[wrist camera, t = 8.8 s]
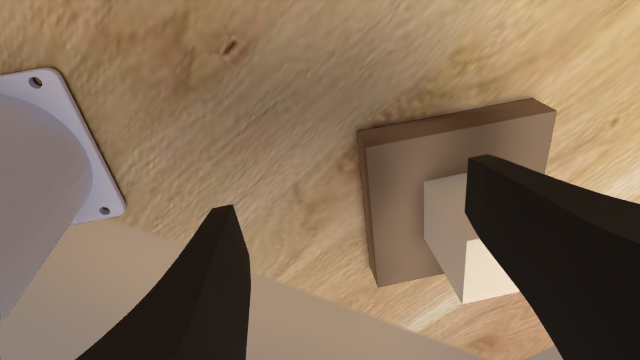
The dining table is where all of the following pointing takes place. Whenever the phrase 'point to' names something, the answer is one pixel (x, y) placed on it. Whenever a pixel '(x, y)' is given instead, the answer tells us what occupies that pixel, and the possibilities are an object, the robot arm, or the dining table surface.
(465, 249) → the off-white block
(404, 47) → the dining table surface
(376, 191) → the walnut plinth
